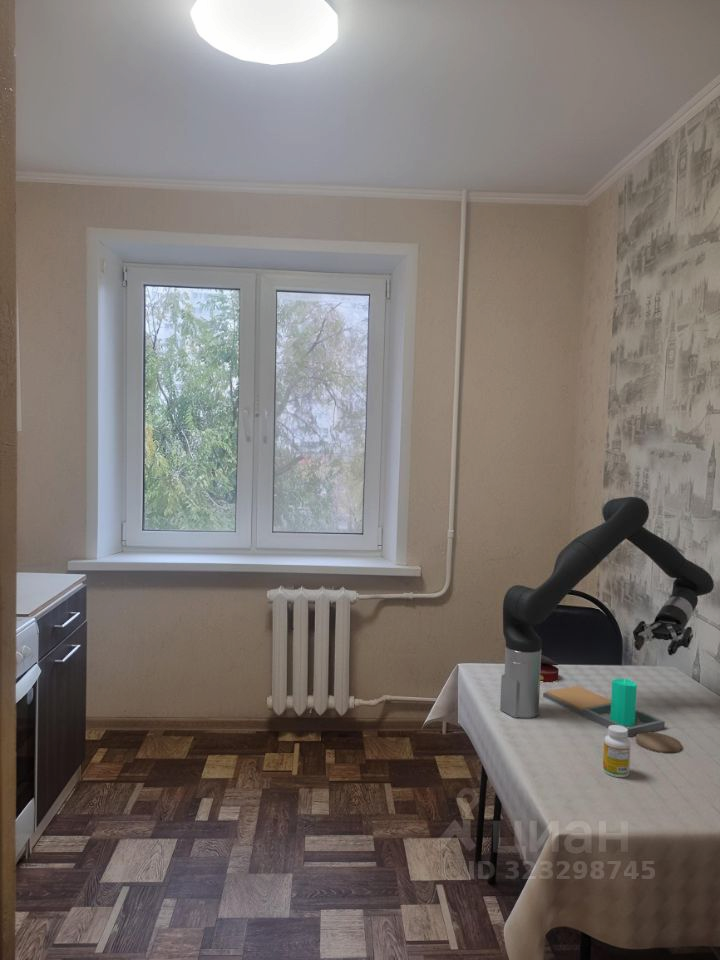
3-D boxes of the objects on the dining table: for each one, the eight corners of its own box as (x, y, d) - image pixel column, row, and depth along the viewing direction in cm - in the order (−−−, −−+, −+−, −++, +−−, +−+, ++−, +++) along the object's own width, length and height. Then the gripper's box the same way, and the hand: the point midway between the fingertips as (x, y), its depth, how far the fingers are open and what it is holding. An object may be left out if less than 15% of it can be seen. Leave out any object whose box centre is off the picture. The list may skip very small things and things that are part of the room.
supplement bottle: (608, 764, 157) (610, 721, 157) (632, 771, 154) (634, 728, 153) (599, 772, 153) (601, 728, 153) (624, 780, 150) (626, 735, 149)
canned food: (523, 690, 218) (514, 657, 222) (552, 684, 221) (542, 652, 225) (540, 684, 208) (530, 650, 212) (569, 678, 211) (559, 645, 215)
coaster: (661, 756, 162) (661, 752, 162) (626, 739, 171) (626, 736, 171) (690, 748, 167) (690, 745, 167) (655, 732, 176) (655, 729, 176)
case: (627, 737, 173) (628, 729, 172) (543, 696, 199) (543, 690, 199) (664, 728, 179) (664, 721, 178) (577, 690, 205) (577, 684, 205)
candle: (619, 727, 178) (621, 680, 178) (605, 718, 184) (607, 673, 184) (640, 725, 180) (642, 679, 180) (625, 716, 186) (627, 671, 185)
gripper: (646, 601, 200) (623, 634, 190) (698, 607, 190) (678, 642, 180) (651, 623, 202) (629, 657, 192) (703, 630, 192) (683, 666, 182)
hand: (653, 649), depth 186 cm, fingers open, 8 cm apart
